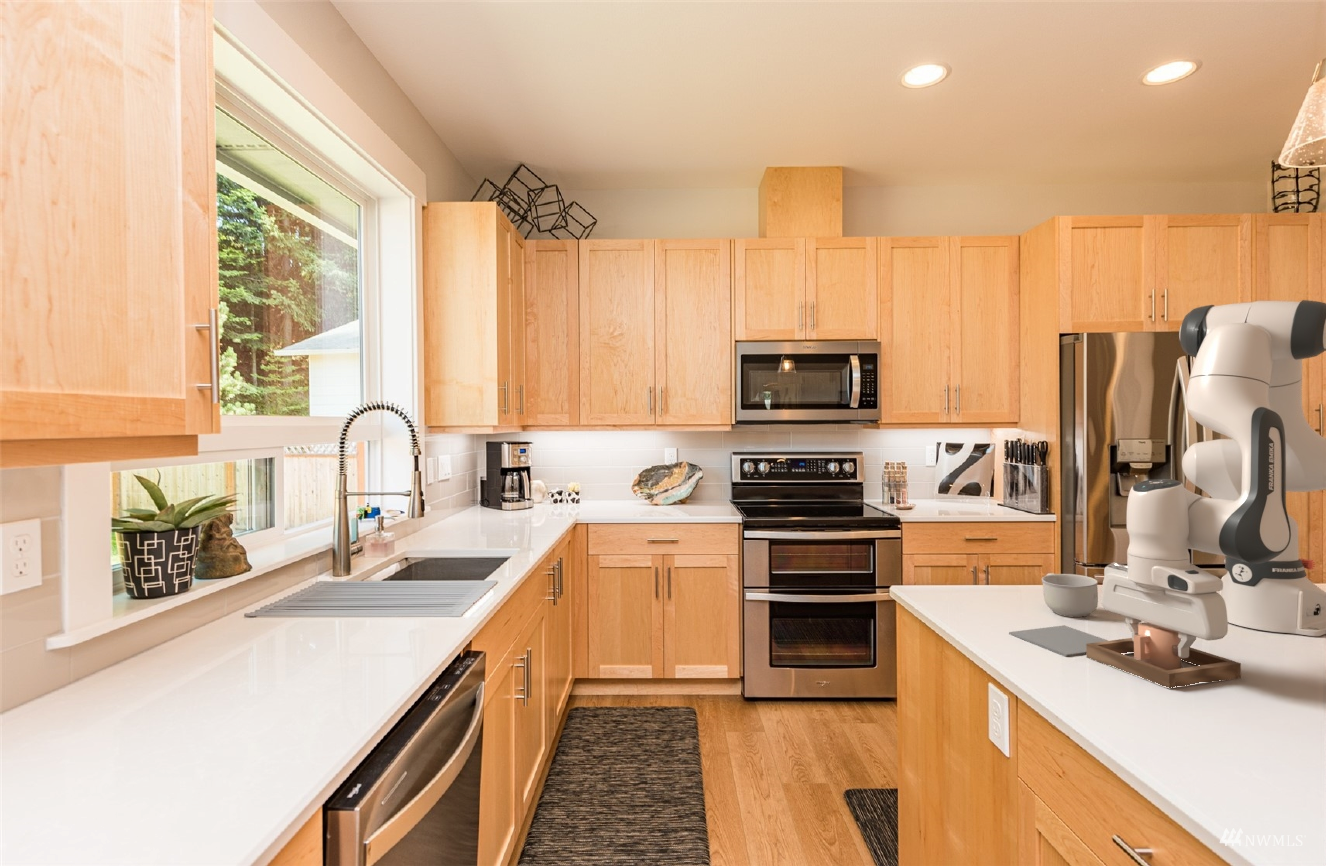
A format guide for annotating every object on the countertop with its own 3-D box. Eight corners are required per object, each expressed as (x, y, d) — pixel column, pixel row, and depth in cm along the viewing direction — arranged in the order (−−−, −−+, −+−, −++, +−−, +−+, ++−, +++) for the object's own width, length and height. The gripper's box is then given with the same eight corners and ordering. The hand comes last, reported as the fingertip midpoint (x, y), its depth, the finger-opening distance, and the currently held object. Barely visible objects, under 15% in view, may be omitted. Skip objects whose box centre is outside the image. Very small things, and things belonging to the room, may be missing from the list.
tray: (1151, 648, 124) (1151, 635, 124) (1240, 677, 109) (1240, 663, 109) (1086, 657, 120) (1086, 643, 120) (1169, 689, 105) (1169, 673, 105)
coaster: (1064, 627, 138) (1064, 625, 138) (1125, 648, 124) (1125, 646, 124) (1009, 633, 134) (1009, 632, 134) (1066, 656, 121) (1066, 654, 121)
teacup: (1107, 621, 141) (1106, 584, 141) (1052, 619, 143) (1052, 583, 143) (1080, 603, 154) (1079, 570, 154) (1030, 602, 157) (1029, 569, 157)
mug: (1156, 659, 118) (1155, 621, 118) (1190, 671, 112) (1189, 631, 112) (1121, 664, 116) (1120, 625, 116) (1154, 676, 110) (1153, 635, 110)
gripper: (1091, 561, 124) (1093, 633, 124) (1204, 586, 104) (1206, 672, 104) (1118, 559, 125) (1119, 630, 125) (1234, 583, 105) (1235, 667, 106)
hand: (1159, 649), depth 115 cm, fingers closed on mug, 6 cm apart
